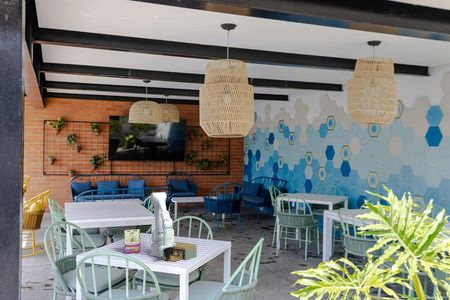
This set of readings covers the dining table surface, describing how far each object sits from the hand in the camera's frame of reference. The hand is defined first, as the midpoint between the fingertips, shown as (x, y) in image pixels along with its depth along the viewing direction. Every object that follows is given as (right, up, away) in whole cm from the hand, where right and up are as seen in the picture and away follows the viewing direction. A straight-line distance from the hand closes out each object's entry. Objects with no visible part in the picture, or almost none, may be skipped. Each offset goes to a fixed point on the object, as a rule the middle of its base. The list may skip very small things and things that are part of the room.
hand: (167, 258), depth 277 cm
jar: (-8, -2, +53) cm, 54 cm away
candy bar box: (-29, -2, +24) cm, 37 cm away
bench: (+7, -2, +12) cm, 14 cm away
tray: (+4, -2, +7) cm, 8 cm away
